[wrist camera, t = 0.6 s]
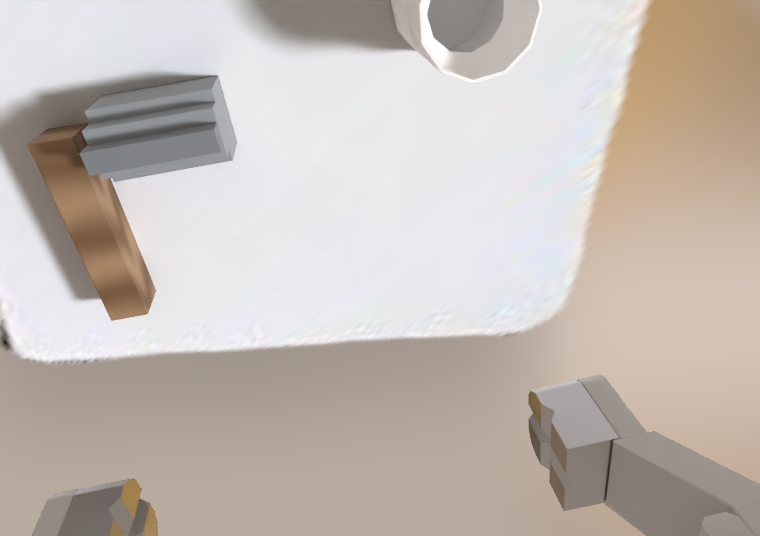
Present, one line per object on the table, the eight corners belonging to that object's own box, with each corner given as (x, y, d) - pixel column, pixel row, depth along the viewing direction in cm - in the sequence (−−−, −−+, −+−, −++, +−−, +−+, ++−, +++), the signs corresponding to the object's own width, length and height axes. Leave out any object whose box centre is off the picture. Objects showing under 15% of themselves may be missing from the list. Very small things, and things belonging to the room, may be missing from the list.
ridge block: (102, 95, 47) (67, 125, 39) (218, 75, 47) (205, 101, 40) (128, 161, 50) (100, 201, 42) (236, 141, 51) (228, 177, 43)
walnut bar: (48, 128, 48) (27, 144, 44) (88, 122, 48) (71, 137, 44) (123, 295, 57) (111, 320, 53) (156, 289, 57) (147, 314, 54)
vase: (506, -26, 47) (568, -17, 37) (455, 70, 50) (499, 103, 40) (419, -81, 44) (460, -88, 34) (371, 25, 47) (395, 48, 37)
